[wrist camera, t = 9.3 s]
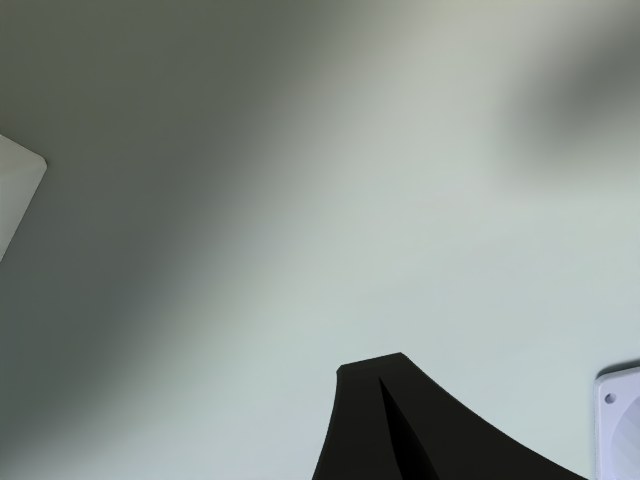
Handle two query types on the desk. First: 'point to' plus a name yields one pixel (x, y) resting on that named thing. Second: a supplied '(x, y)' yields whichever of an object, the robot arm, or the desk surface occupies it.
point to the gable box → (16, 186)
